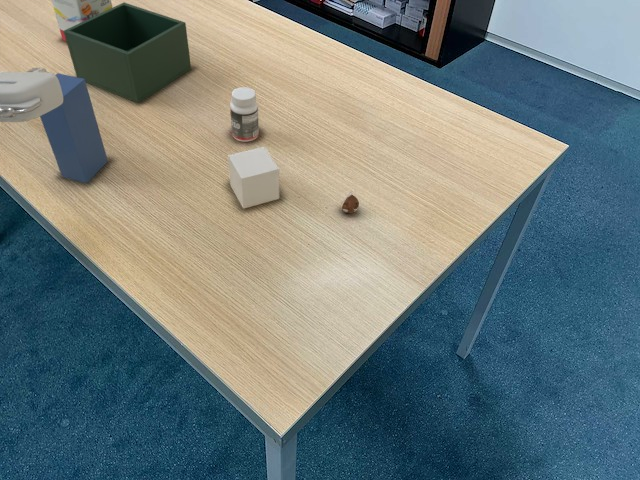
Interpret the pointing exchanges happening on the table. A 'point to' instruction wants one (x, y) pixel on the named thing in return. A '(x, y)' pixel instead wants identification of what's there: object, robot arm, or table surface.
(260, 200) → the white cube
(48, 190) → the table surface
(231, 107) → the pill bottle
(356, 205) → the chocolate
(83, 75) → the waste bin
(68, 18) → the ink box
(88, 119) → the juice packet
